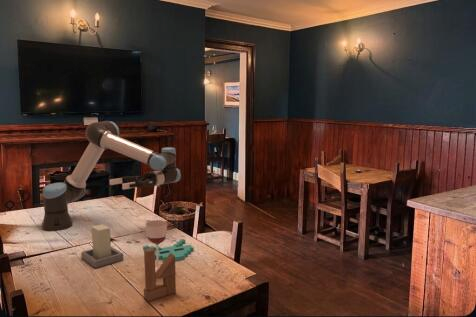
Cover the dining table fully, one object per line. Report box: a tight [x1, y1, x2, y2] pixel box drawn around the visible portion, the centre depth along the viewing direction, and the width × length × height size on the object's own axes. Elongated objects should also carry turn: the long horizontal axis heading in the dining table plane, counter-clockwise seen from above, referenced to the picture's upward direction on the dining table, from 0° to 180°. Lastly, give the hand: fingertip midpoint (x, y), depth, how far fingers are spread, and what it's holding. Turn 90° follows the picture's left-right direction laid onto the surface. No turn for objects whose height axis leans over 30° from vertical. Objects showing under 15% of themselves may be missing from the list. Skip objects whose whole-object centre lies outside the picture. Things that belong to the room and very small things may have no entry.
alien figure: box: [142, 238, 195, 262], centre depth 175 cm, size 20×2×20 cm
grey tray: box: [80, 246, 124, 270], centre depth 168 cm, size 14×12×3 cm
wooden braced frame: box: [143, 248, 177, 302], centre depth 136 cm, size 4×11×18 cm, turn 126°
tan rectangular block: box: [91, 224, 112, 260], centre depth 167 cm, size 7×5×14 cm
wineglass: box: [145, 219, 168, 272], centre depth 155 cm, size 8×9×20 cm
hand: (116, 184), depth 190 cm, fingers open, 13 cm apart
